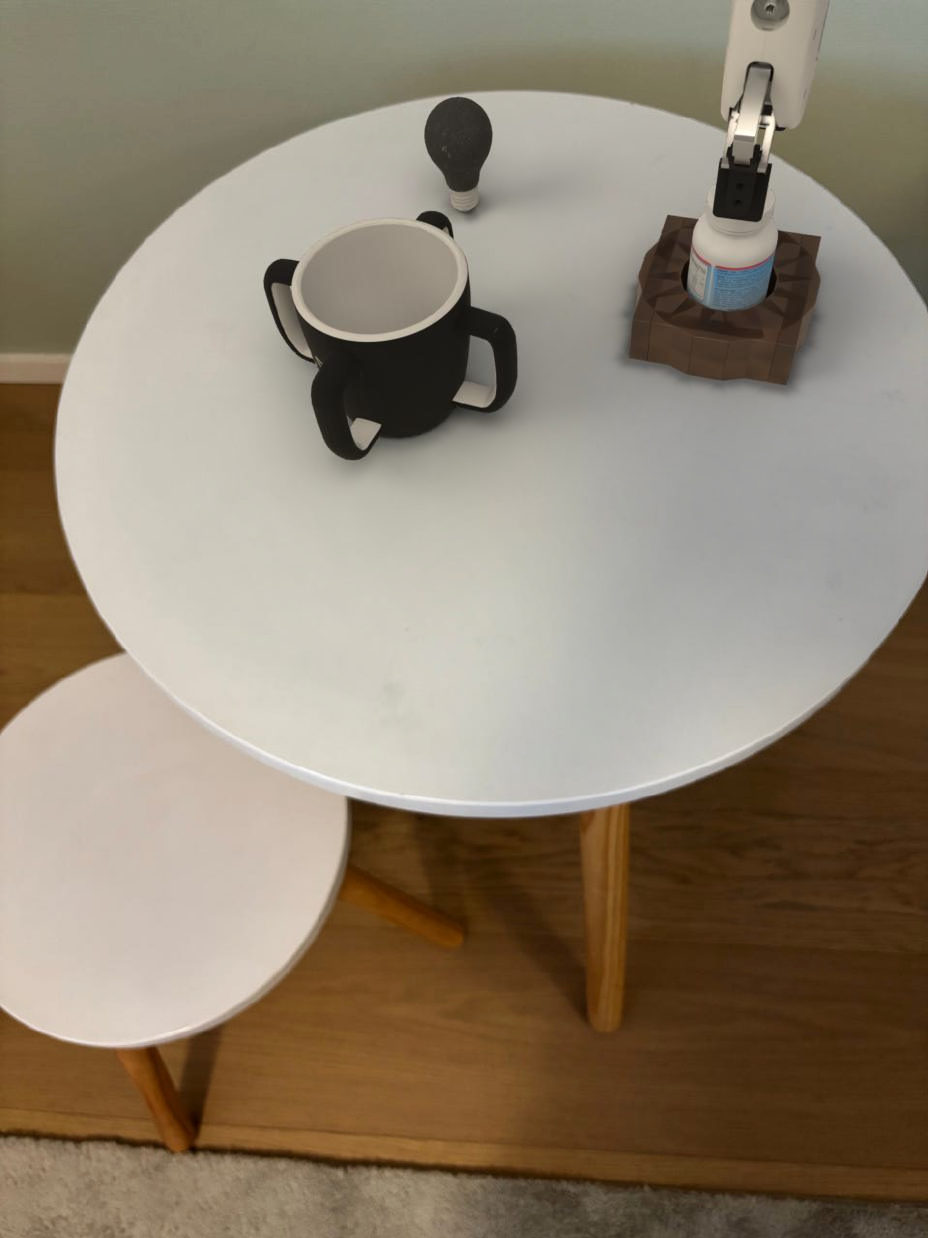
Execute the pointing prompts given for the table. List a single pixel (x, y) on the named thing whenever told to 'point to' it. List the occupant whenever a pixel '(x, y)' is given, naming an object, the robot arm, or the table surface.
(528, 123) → the table surface
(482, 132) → the light bulb
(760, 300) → the pill bottle
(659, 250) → the hole plate
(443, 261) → the mug
